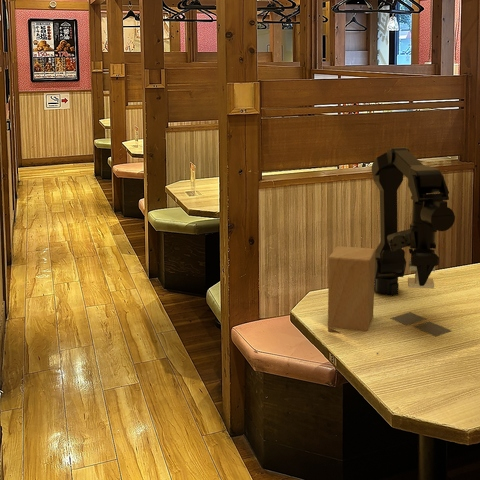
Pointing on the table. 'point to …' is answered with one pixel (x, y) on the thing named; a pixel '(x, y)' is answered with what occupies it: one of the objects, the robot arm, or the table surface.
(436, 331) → the stand
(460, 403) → the table surface
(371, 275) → the wooden block
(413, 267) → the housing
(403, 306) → the table surface
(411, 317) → the stand
